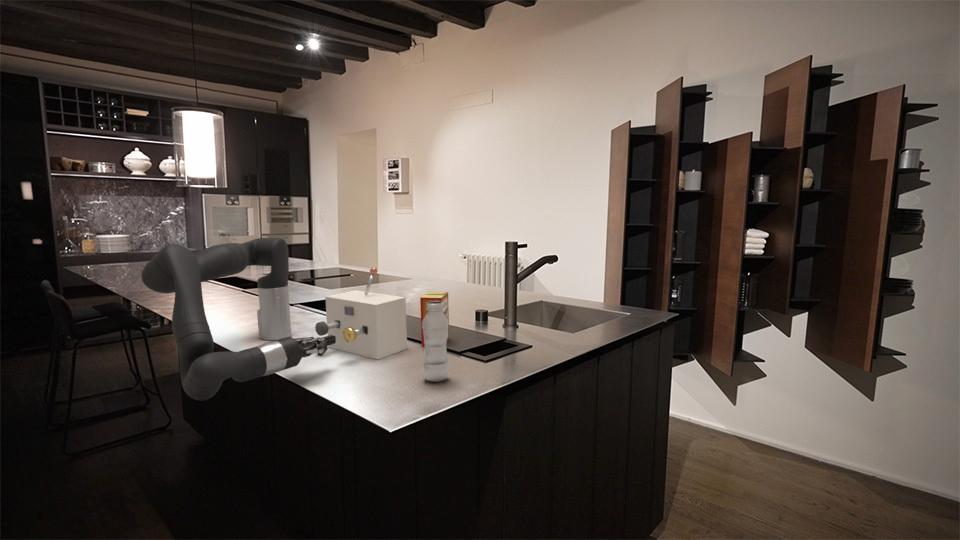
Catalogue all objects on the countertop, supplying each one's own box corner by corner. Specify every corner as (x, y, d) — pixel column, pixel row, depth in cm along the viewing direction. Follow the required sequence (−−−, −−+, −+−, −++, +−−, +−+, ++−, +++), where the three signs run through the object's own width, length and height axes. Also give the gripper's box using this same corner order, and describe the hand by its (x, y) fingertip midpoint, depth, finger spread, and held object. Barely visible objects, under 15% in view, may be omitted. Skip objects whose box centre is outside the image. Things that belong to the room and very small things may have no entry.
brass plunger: (342, 341, 136) (342, 327, 135) (361, 335, 141) (361, 321, 141) (352, 343, 133) (351, 329, 133) (371, 337, 139) (370, 323, 138)
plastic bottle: (423, 375, 125) (421, 300, 122) (449, 374, 125) (447, 299, 122) (422, 385, 118) (420, 305, 115) (449, 384, 119) (448, 305, 116)
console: (326, 347, 149) (323, 297, 147) (358, 337, 160) (355, 290, 158) (376, 360, 137) (373, 305, 135) (407, 348, 148) (405, 297, 145)
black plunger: (315, 334, 142) (314, 321, 142) (334, 329, 148) (334, 316, 147) (324, 336, 140) (323, 323, 139) (343, 331, 146) (342, 318, 145)
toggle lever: (360, 294, 146) (369, 266, 149) (365, 296, 148) (374, 268, 150) (365, 294, 145) (374, 266, 147) (370, 296, 147) (379, 269, 149)
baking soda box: (442, 348, 148) (441, 296, 146) (421, 347, 149) (420, 296, 147) (449, 339, 157) (448, 290, 155) (429, 338, 158) (428, 290, 156)
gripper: (261, 366, 120) (319, 348, 135) (293, 376, 113) (351, 356, 127) (258, 337, 119) (317, 322, 134) (291, 345, 112) (349, 328, 126)
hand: (333, 338), depth 130 cm, fingers closed
